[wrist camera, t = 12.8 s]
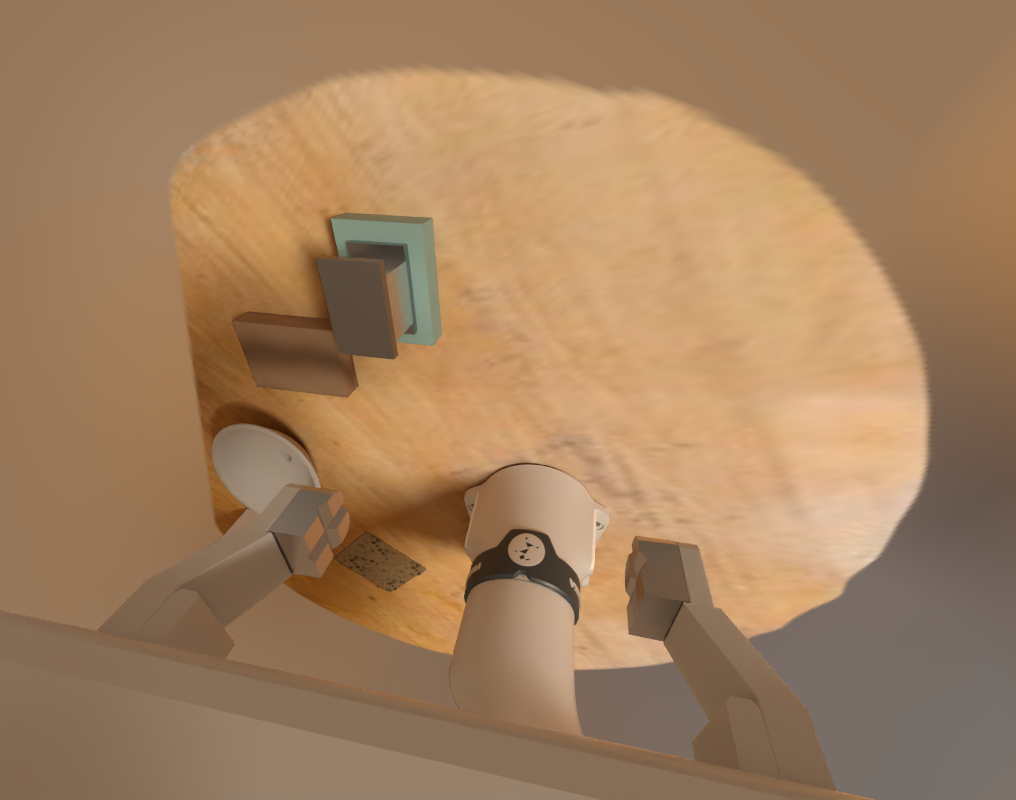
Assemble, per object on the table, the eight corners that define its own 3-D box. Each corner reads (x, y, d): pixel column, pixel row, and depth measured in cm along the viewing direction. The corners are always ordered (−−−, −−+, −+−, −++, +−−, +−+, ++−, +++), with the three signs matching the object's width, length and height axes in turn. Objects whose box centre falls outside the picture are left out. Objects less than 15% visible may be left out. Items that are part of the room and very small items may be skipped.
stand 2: (441, 334, 41) (433, 345, 39) (367, 327, 42) (356, 338, 40) (432, 218, 35) (422, 224, 33) (345, 212, 36) (330, 218, 34)
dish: (231, 384, 51) (199, 408, 47) (342, 421, 51) (320, 447, 47) (246, 478, 61) (221, 504, 57) (339, 508, 61) (320, 535, 57)
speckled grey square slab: (366, 527, 63) (363, 532, 63) (428, 566, 67) (426, 572, 66) (333, 555, 70) (330, 560, 69) (392, 590, 73) (389, 595, 72)
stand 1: (358, 385, 47) (347, 397, 45) (271, 375, 48) (257, 386, 46) (343, 320, 43) (331, 330, 40) (248, 311, 44) (231, 321, 42)
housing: (407, 243, 34) (378, 262, 30) (417, 331, 39) (394, 359, 34) (351, 239, 35) (315, 258, 30) (368, 326, 39) (338, 353, 35)
